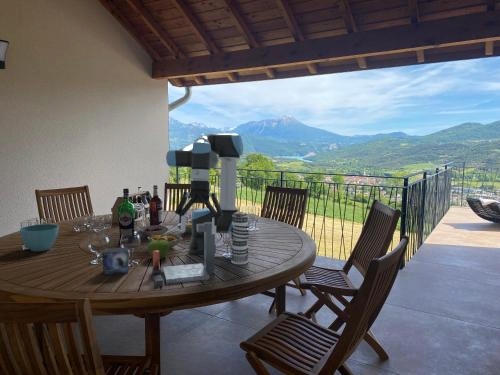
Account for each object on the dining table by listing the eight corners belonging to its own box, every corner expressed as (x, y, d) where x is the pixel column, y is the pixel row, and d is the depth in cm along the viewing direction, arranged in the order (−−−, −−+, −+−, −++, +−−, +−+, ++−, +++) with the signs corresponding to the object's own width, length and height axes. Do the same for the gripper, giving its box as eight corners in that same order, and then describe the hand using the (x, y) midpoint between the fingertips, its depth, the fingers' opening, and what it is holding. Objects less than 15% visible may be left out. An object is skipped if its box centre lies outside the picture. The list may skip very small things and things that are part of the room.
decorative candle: (252, 262, 174) (253, 212, 171) (238, 265, 168) (238, 214, 165) (241, 257, 181) (241, 210, 178) (226, 261, 175) (227, 212, 172)
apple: (168, 254, 184) (168, 236, 183) (170, 260, 174) (170, 241, 173) (147, 256, 181) (147, 237, 180) (148, 262, 171) (147, 242, 170)
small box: (102, 275, 152) (102, 252, 151) (104, 270, 159) (104, 248, 158) (128, 273, 155) (127, 250, 154) (129, 268, 162) (128, 246, 160)
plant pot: (49, 243, 202) (48, 222, 201) (66, 248, 192) (65, 226, 191) (14, 250, 187) (13, 228, 186) (30, 256, 177) (29, 233, 176)
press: (152, 271, 158) (151, 222, 155) (209, 266, 167) (209, 219, 164) (155, 286, 141) (154, 231, 138) (218, 279, 150) (219, 227, 147)
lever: (152, 270, 156) (151, 250, 155) (160, 269, 157) (159, 249, 156) (152, 273, 153) (152, 252, 151) (161, 272, 154) (160, 251, 153)
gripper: (168, 179, 141) (166, 231, 140) (225, 180, 134) (223, 235, 133) (177, 180, 148) (175, 229, 148) (232, 181, 141) (230, 233, 141)
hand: (198, 232), depth 140 cm, fingers open, 13 cm apart
